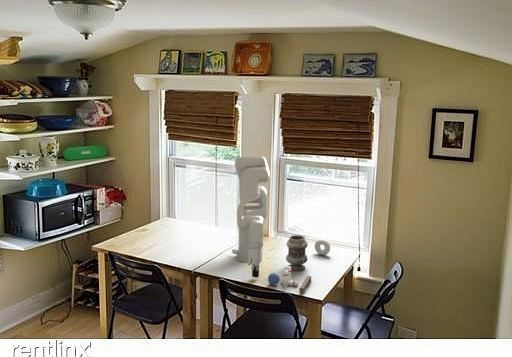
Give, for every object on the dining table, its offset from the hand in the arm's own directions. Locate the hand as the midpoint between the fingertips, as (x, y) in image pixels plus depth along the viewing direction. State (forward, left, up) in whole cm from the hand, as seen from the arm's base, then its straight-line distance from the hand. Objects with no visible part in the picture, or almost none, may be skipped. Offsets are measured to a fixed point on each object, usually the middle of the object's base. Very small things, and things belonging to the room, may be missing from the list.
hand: (255, 276), depth 259 cm
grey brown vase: (+16, +23, -2) cm, 28 cm away
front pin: (+14, 0, 0) cm, 14 cm away
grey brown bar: (+27, 0, -2) cm, 27 cm away
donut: (+25, +48, -2) cm, 54 cm away
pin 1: (+17, -3, -2) cm, 18 cm away
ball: (+11, -3, +2) cm, 11 cm away
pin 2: (+17, +3, -2) cm, 18 cm away
